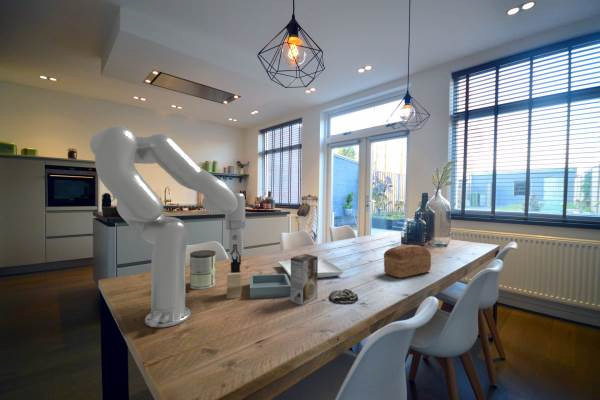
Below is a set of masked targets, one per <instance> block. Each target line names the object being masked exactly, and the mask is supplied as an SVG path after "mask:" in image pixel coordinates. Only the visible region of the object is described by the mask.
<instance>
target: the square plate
mask: <svg viewBox="0 0 600 400" xmlns="http://www.w3.org/2000/svg"><path fill="white" fill-rule="evenodd" d="M277 263H278V264H279V265H280V267H282V268H283V270H284V271H285V272H286V274H287V276H289V278H291V259H289V260H280V261H279V260H278V261H277ZM344 273H345V270H343V269H341V268H340V267H338V266H337V265H336V264H334V263H332V262H331V261H329V260H328V259H327V260H326V259H325V258H318V279H321V278H331V277H337V276H341V275H342V274H344Z"/></svg>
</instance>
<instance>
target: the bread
mask: <svg viewBox="0 0 600 400" xmlns="http://www.w3.org/2000/svg"><path fill="white" fill-rule="evenodd" d="M383 267H384V269H383V271H384V273H385V274H386V275H388V276H389V277H390V276H391V277H393V278H394V277H395V278H399V279H400V278H401V279H402V278H407V277H410V276H417V275H419V274H423V273H424V274H425V273H428V272H429V271H431V267H432V254H431V252H430V251H429V250H428V249H427V248H426V246H422V245H417V244H402V245H398V246H394V247H391V248H388V249H387V250H386V251H384V254H383Z"/></svg>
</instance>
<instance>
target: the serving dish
mask: <svg viewBox="0 0 600 400" xmlns="http://www.w3.org/2000/svg"><path fill="white" fill-rule="evenodd" d="M288 276H289V275H288V273H271V274H269V273H268V274H250V275H249V299H264V298H265V299H266V298H279V297H280V298H281V297H282V298H283V297H290V294H291V293H290V292H291V280H290V279H289V278H290V277H288Z"/></svg>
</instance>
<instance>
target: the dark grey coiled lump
mask: <svg viewBox="0 0 600 400" xmlns="http://www.w3.org/2000/svg"><path fill="white" fill-rule="evenodd" d="M328 300H329V302H331V303H333V304H335V305H341V306H342V305H353V304H356V303H357V302H359V296H358V294H357V293H355V291H352V290H351V289H348V288H344V289H342V290H336V289H335V290H333V291H331V292H330V294H329V296H328Z"/></svg>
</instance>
